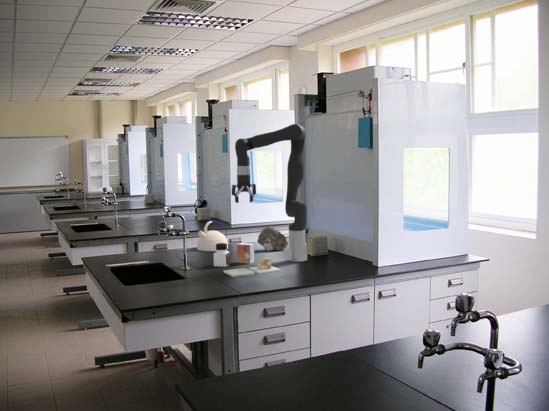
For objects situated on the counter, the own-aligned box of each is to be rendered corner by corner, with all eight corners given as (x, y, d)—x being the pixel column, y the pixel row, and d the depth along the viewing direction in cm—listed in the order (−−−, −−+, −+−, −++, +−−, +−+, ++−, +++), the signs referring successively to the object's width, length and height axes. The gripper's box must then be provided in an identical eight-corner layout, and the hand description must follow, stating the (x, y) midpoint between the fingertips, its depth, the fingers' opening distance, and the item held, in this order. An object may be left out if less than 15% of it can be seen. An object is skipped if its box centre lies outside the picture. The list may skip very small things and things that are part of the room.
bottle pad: (245, 269, 287) (245, 268, 287) (254, 274, 276) (254, 272, 276) (223, 272, 282) (223, 270, 282) (232, 276, 271) (232, 274, 271)
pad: (269, 267, 293) (269, 265, 293) (279, 271, 282) (279, 269, 282) (248, 269, 288) (248, 267, 288) (258, 273, 277) (258, 271, 277)
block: (266, 266, 288) (266, 257, 288) (270, 268, 284) (270, 259, 283) (258, 268, 286) (257, 258, 286) (262, 269, 282) (261, 260, 281)
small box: (237, 263, 305) (236, 244, 305) (241, 261, 311) (240, 242, 310) (250, 264, 302) (249, 244, 302) (254, 262, 308) (254, 243, 307)
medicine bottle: (226, 266, 296) (225, 244, 295) (213, 266, 298) (213, 244, 297) (230, 264, 303) (229, 242, 302) (217, 263, 305) (217, 242, 304)
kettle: (190, 249, 356) (189, 221, 354) (216, 245, 370) (215, 218, 368) (208, 252, 341) (207, 223, 339) (235, 248, 355) (234, 220, 353)
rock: (270, 224, 334) (267, 217, 349) (254, 242, 336) (251, 234, 350) (292, 243, 339) (288, 235, 353) (276, 260, 341) (273, 252, 355)
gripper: (252, 173, 322) (252, 201, 323) (229, 174, 315) (230, 202, 317) (257, 173, 315) (258, 202, 316) (234, 174, 309) (235, 203, 310)
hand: (244, 202), depth 316 cm, fingers open, 8 cm apart
